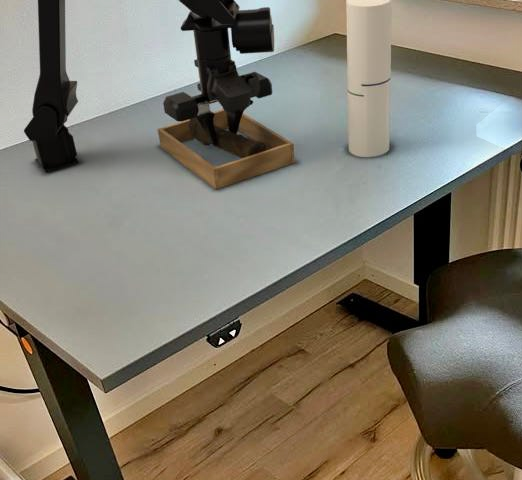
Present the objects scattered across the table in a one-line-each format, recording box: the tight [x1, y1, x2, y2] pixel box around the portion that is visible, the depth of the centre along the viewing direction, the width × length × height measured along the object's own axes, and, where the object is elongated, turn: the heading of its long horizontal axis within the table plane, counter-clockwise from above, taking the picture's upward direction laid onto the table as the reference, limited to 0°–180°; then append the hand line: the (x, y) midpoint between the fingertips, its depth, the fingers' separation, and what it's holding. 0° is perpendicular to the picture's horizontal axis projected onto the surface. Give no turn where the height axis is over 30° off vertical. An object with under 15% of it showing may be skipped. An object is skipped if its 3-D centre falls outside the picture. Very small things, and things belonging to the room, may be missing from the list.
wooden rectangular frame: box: [157, 108, 296, 190], centre depth 143 cm, size 16×22×4 cm
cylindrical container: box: [345, 0, 393, 158], centre depth 133 cm, size 7×7×25 cm
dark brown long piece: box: [189, 118, 266, 159], centre depth 142 cm, size 19×4×5 cm, turn 40°
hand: (223, 142), depth 143 cm, fingers closed on dark brown long piece, 3 cm apart
